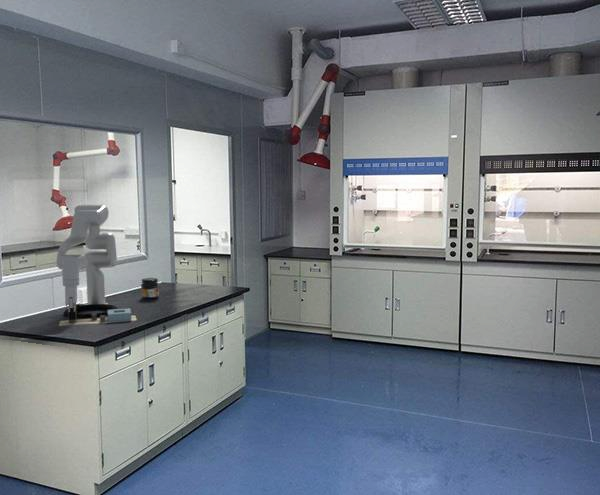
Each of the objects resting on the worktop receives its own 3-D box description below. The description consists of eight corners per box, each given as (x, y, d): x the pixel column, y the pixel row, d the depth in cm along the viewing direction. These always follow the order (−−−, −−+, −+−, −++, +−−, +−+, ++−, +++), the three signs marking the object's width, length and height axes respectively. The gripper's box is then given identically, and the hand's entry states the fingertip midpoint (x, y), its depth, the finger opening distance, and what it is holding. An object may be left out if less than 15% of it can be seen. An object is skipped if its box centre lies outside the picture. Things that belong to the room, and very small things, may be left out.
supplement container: (152, 300, 333) (152, 280, 331) (137, 299, 336) (137, 279, 335) (162, 297, 342) (162, 278, 341) (147, 296, 346) (147, 277, 345)
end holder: (107, 317, 283) (107, 309, 283) (130, 315, 287) (130, 308, 287) (108, 322, 273) (108, 314, 272) (131, 320, 277) (131, 312, 276)
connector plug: (68, 322, 273) (68, 306, 273) (76, 321, 275) (76, 305, 274) (68, 323, 270) (67, 307, 269) (76, 323, 271) (75, 307, 270)
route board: (60, 323, 276) (59, 315, 276) (135, 317, 288) (135, 310, 288) (58, 328, 265) (58, 320, 264) (136, 322, 277) (136, 315, 277)
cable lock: (80, 316, 275) (50, 308, 294) (81, 324, 276) (50, 315, 294) (128, 307, 297) (97, 300, 315) (129, 314, 297) (98, 307, 316)
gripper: (63, 279, 277) (65, 315, 279) (61, 285, 261) (63, 323, 263) (79, 279, 279) (81, 314, 281) (78, 284, 264) (80, 322, 266)
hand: (72, 318), depth 272 cm, fingers closed on connector plug, 3 cm apart
